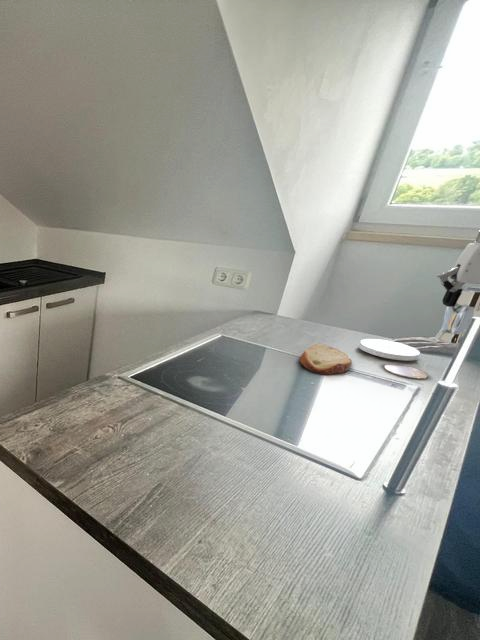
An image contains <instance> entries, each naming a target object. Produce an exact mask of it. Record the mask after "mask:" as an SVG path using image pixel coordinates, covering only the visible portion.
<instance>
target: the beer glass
mask: <svg viewBox="0 0 480 640" xmlns="http://www.w3.org/2000/svg"><path fill="white" fill-rule="evenodd" d="M456 292H457V293H458V295H457V297H456V299H455V301H454V303H453V305H452V306H451V307H448V306H446V308H445V310H444V311H445V312H444V317H443V322H442V325H441V328H440V330H439V331H438V332H437V334H436V335H435V336H434V341H437V342H440V343H443V344H449V345H455V346H456V345H457V346H459V345H458V340H459V339H460V338H461V337H462V336H463V335H464V333H465V331H466V328H467V324H468V320H469V319H470V318H471V317H473V316H480V286H473V285H472V286H471V285H470V286H469V285H463V286H462V287H460V288H459V289H458V290H457V291H456Z"/></svg>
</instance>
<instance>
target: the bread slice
mask: <svg viewBox="0 0 480 640" xmlns="http://www.w3.org/2000/svg"><path fill="white" fill-rule="evenodd" d="M299 361H300V363H301V365H302V366H303V367H304V368H305V369H307V370H308V371H310V372H311V373H314V374H320V375H328V376H329V375H330V374H331V375H332V374H344V373H346V372H347V371H348V370H349V369H350V368H351V366H352V359H351V358H350V357H349V356H348V354H346V353H345V352H343V351H341V350H340V349H338V348H336V347H332V346H329V345H326V344H323V343H316V344H313V345H311V346H309V347H308V348H307V349H306V350H305V351H303V352H302V354H301V355H300V357H299Z"/></svg>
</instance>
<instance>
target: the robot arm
mask: <svg viewBox="0 0 480 640" xmlns="http://www.w3.org/2000/svg"><path fill="white" fill-rule="evenodd" d="M436 277H437V279H438V281H439V282H440V284H441V285H442V287H444V289H445V290H446V291H445V294H444V296H443V298H442V305H444V306H446V307H447V306H448V307H451V306H452V305H453V303H454V301H455V299H456V297H457V295H458V293H457V292H456V291H457V290H458V289H459V288H460V287H462V286H465V284H470V285H471V284H472V285H474V284H475V285H480V230H478V233H477V235H476V237H475V238H474V242H468V244H467V245H466V246H465V248H464V249H463V251H462V252H461V253H460V255H459V256H458V258H457V260H456V262H455V263H454V265H453V266H452V268H450V269H449V270H445V271H443V272H442V273H440V274H438V275H437V276H436ZM449 279H451V280H452V281H449Z"/></svg>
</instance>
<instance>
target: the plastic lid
mask: <svg viewBox="0 0 480 640" xmlns="http://www.w3.org/2000/svg"><path fill="white" fill-rule="evenodd" d="M358 348H359V349H360V350H361V351H363V352H366V353H367V354H370V355H373V356H377V357H381V358H384V359H390V360H395V361H396V360H397V361H406V362H407V361H416V360H418V359H419V358H420V356H421V351H420V350H419V349H418V348H415V347H413V346H410V345H408V344H404V343H402V342H397V341H393V340H387V339H380V338H364V339H361V340H359V344H358Z"/></svg>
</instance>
